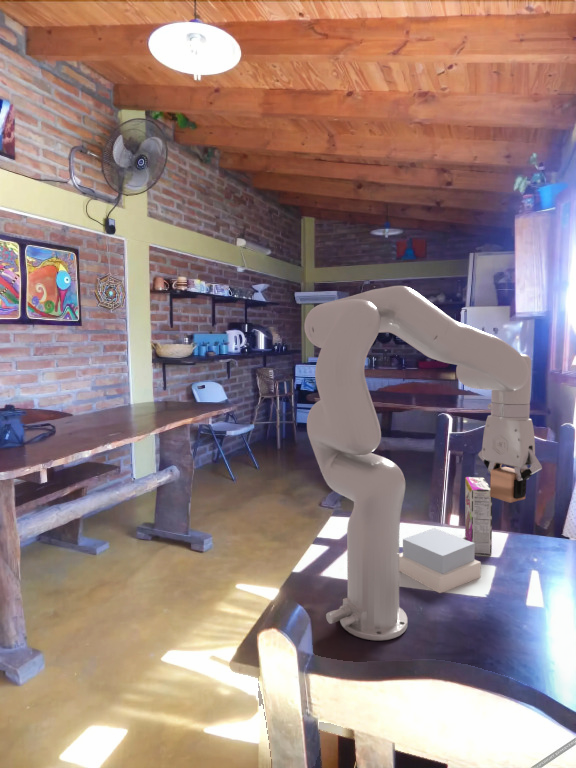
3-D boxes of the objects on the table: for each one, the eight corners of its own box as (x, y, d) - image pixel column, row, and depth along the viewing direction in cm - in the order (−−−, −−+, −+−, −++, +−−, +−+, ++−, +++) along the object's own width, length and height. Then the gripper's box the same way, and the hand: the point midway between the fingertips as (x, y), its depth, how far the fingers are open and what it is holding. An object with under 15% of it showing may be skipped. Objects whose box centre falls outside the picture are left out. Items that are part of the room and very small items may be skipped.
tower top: (442, 574, 103) (442, 556, 102) (402, 555, 112) (402, 539, 111) (474, 560, 109) (474, 543, 109) (434, 544, 118) (434, 528, 118)
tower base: (439, 595, 102) (439, 577, 101) (395, 571, 113) (395, 554, 113) (480, 579, 108) (480, 562, 108) (435, 557, 120) (435, 541, 119)
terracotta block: (510, 502, 103) (511, 474, 103) (490, 496, 107) (490, 469, 107) (525, 498, 106) (526, 471, 105) (504, 492, 110) (505, 466, 109)
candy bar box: (463, 536, 131) (464, 476, 130) (483, 537, 130) (484, 477, 129) (470, 554, 120) (471, 488, 119) (492, 555, 119) (493, 489, 118)
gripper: (465, 408, 110) (463, 486, 112) (536, 417, 96) (533, 508, 97) (487, 405, 114) (485, 482, 116) (559, 414, 99) (555, 502, 101)
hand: (507, 493), depth 106 cm, fingers closed on terracotta block, 4 cm apart
